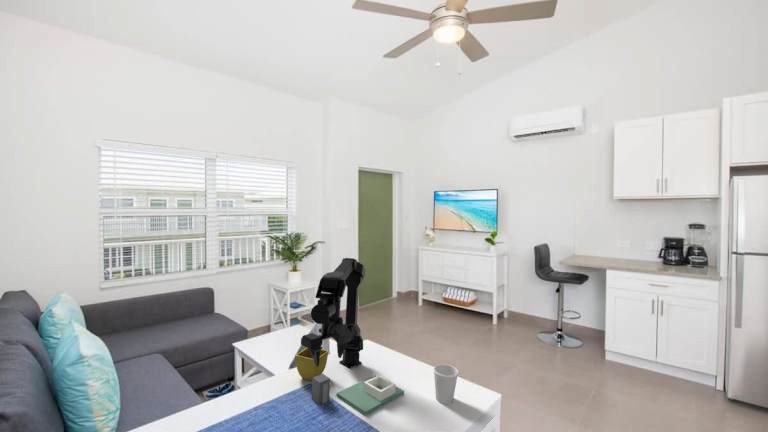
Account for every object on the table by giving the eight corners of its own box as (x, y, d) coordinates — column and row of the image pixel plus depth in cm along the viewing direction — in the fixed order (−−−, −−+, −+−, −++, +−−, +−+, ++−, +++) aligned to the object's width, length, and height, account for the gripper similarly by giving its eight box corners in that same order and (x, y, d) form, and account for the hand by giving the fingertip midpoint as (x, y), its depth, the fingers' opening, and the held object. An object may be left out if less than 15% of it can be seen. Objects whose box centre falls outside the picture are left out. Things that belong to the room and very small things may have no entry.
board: (336, 396, 114) (336, 383, 114) (375, 378, 127) (375, 367, 127) (365, 415, 104) (366, 402, 104) (403, 394, 117) (404, 382, 117)
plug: (311, 399, 112) (312, 377, 111) (321, 394, 114) (322, 373, 114) (319, 405, 108) (320, 383, 108) (330, 400, 111) (331, 379, 111)
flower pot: (293, 379, 123) (294, 354, 123) (307, 369, 131) (309, 346, 131) (314, 385, 120) (315, 360, 120) (327, 374, 128) (328, 350, 128)
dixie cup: (429, 402, 113) (430, 372, 113) (434, 390, 121) (436, 362, 121) (454, 409, 110) (456, 378, 110) (458, 396, 118) (460, 367, 117)
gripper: (323, 327, 99) (320, 380, 99) (369, 314, 113) (366, 361, 113) (301, 317, 106) (298, 367, 107) (346, 306, 120) (344, 350, 121)
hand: (328, 361), depth 112 cm, fingers open, 9 cm apart
